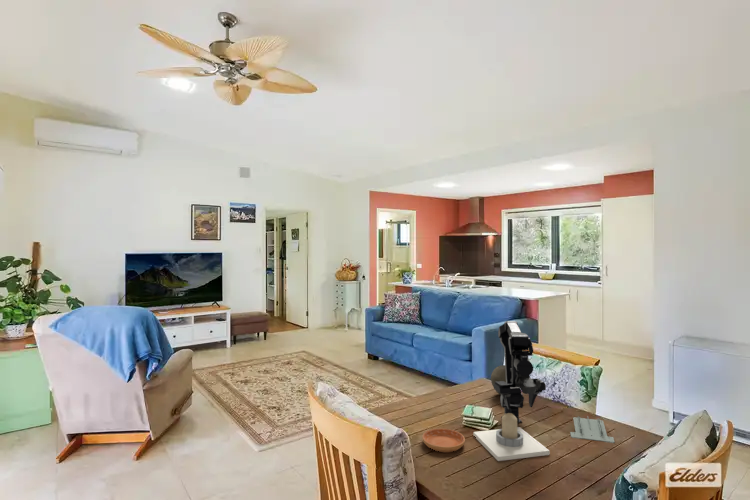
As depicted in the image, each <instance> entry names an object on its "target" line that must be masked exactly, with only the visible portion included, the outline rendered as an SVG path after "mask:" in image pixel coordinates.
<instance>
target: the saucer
mask: <svg viewBox="0 0 750 500" xmlns="http://www.w3.org/2000/svg"><path fill="white" fill-rule="evenodd" d="M421 438H422V442H423V444H425V445H426V446H427V447H428V448H429V449H430V448H431V449H430V450H432V449H433V450H432V451H434V450H435V452H438V451H439V452H438V453H454V452H456V451H458V450H460V449H461V448H462V447H463V446H464V445H465V443H466V442H465V441H466V438H465V436H464V435H463V433H460V432H459V431H456V430H453V429H449V428H432V429H429V430H427V431H424V432H423V434H422V436H421ZM453 451H454V452H453Z"/></svg>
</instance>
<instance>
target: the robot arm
mask: <svg viewBox="0 0 750 500" xmlns="http://www.w3.org/2000/svg"><path fill="white" fill-rule="evenodd" d="M497 332H498V338H499V342H500V344H501V346H502V347H503V349H504V365H505V372H506V382H504V381H497V382H495V383H494V387H493V389H494V391H496V390H497V391H498V392H499V393H501V395H500V397H499V398H500V405H501V408H503V409H504V410H503V411H504V415H505V414H507V413H512V414H513V415H514V416H515V417H516V418H517V424H518V423H522V422H523V420H522V419H521V418H520V412H519V411H520V410H519V409H520V408H521V409H523V407H524V401H525V397H524V395H523V394H525V395H528V404H529V407H530V408H533V406H534V404H535V400H536V398H537V396H538V395H539V394H540V393H543V391H546V390H547V389H546V388H547V385H546V383H545V381H543V380H541V379H540V378H537V377H536V378H533V377H532V378H531V374H533V371H534V365H533V363H532V362H531V361H530V359H529V356H530V357H531V356H534V354H533V353H534V346H533V342H532V340H531V337H529V335H528V334H527V333H525V332H522V331H521V328H520V326H519V324H518V321H516V320H506V321H504V323H503V324H502V325H500V326H499V327H498V331H497ZM499 393H498V394H499ZM504 415H503V416H504ZM500 418H501V419H502V416H501V417H500Z"/></svg>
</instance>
